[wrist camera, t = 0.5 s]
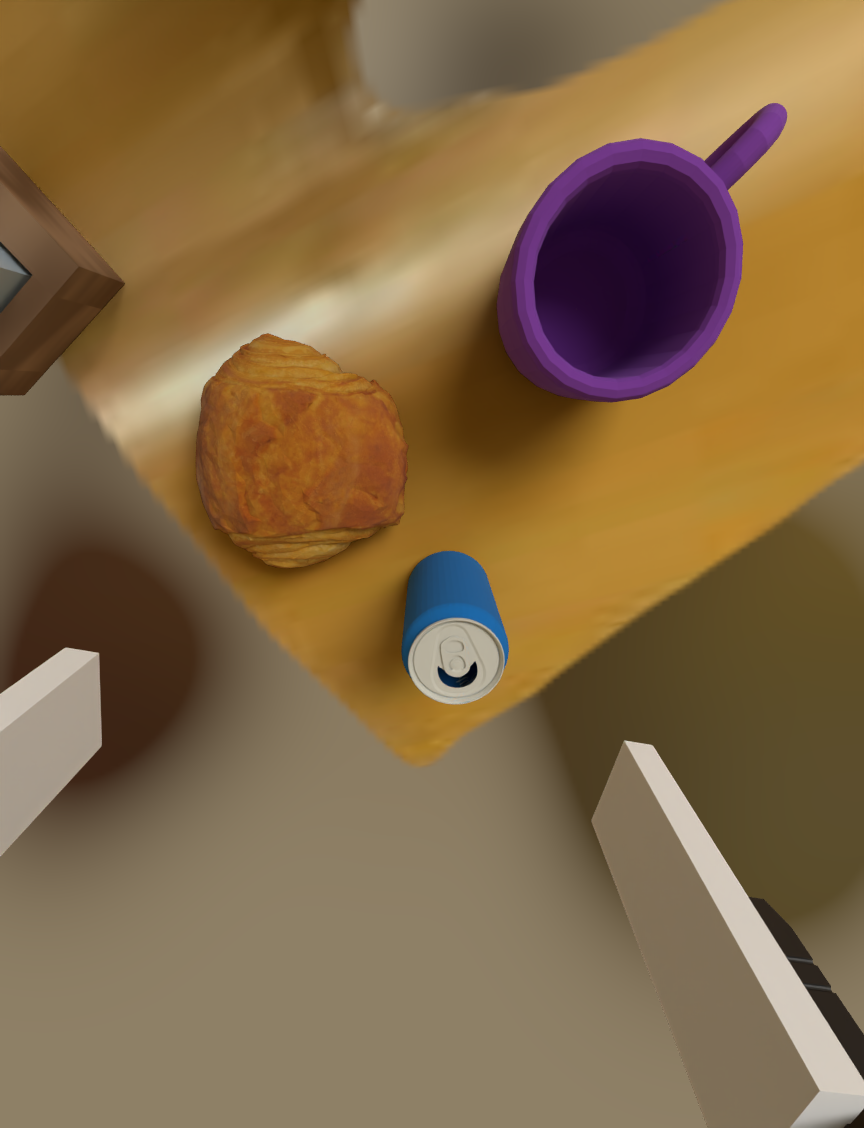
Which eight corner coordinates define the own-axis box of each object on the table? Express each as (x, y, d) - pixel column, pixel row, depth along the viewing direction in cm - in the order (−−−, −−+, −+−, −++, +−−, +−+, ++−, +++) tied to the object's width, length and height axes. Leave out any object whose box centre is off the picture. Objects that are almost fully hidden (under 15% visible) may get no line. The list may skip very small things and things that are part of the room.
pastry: (226, 529, 40) (176, 576, 33) (218, 321, 33) (153, 323, 26) (399, 558, 41) (387, 609, 33) (428, 358, 33) (421, 371, 26)
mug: (562, 434, 36) (611, 448, 26) (452, 313, 33) (462, 281, 23) (765, 235, 32) (910, 168, 22) (659, 79, 29) (772, -73, 19)
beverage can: (415, 626, 41) (410, 717, 29) (401, 554, 38) (391, 621, 27) (491, 616, 40) (517, 702, 29) (482, 542, 38) (506, 604, 27)
